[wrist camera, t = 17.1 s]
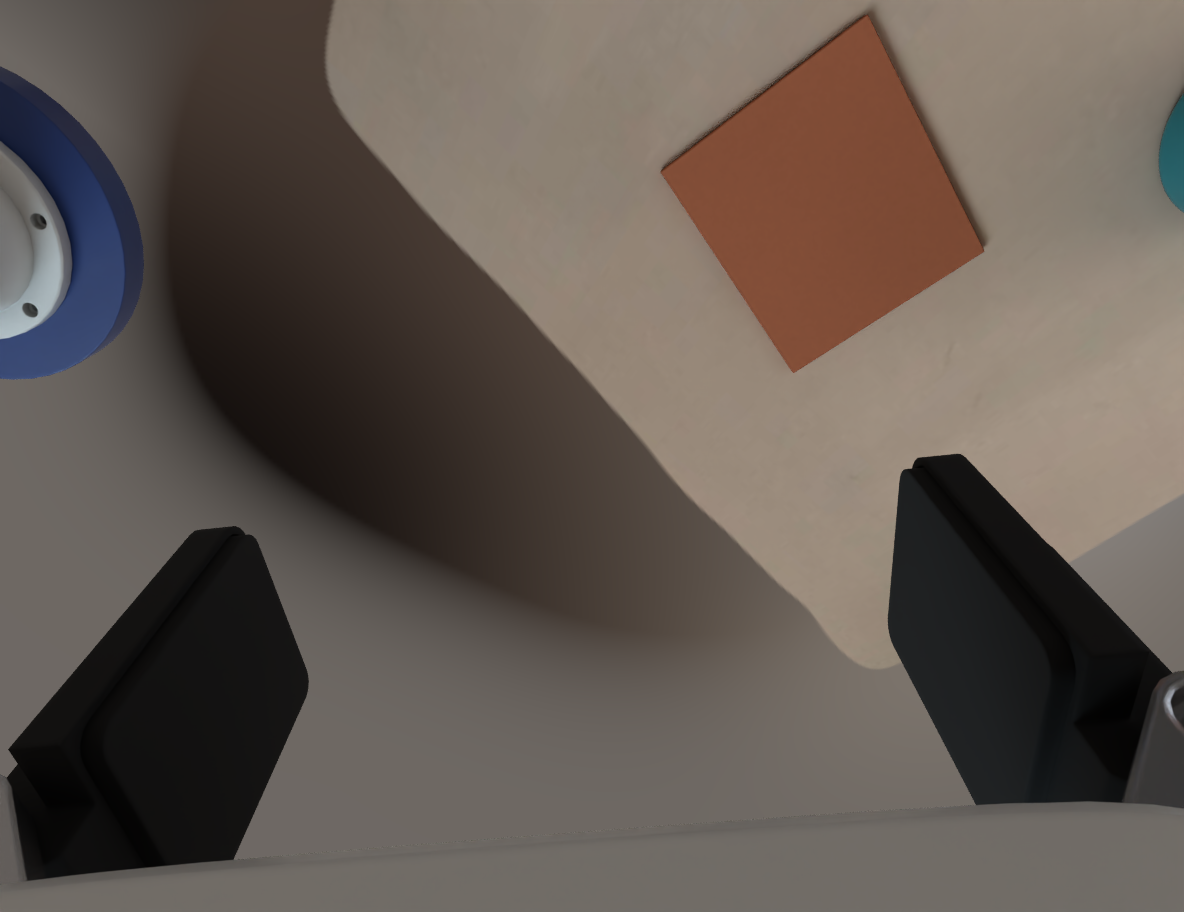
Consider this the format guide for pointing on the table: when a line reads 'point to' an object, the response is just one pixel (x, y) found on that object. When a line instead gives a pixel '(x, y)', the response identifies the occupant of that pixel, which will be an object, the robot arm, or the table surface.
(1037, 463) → the table surface
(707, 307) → the table surface
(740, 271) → the terracotta mat
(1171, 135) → the cup
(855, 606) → the table surface
